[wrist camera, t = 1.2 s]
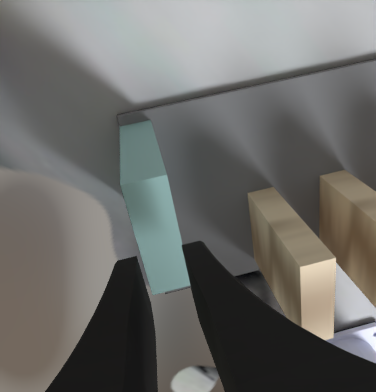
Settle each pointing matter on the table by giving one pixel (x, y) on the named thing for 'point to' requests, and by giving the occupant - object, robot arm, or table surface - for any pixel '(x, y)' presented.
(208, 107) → the domino mat
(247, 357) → the robot arm
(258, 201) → the domino
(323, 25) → the table surface
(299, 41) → the table surface
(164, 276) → the domino
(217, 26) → the table surface
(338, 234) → the domino
